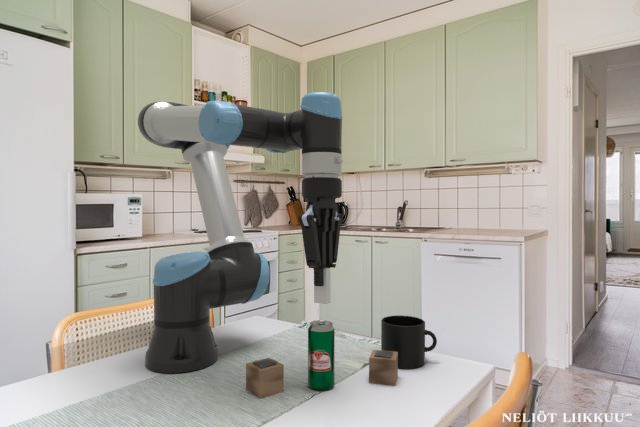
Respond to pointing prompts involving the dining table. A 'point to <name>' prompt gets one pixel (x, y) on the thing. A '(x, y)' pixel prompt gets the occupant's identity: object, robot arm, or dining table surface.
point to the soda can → (321, 355)
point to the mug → (406, 339)
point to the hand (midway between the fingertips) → (322, 302)
